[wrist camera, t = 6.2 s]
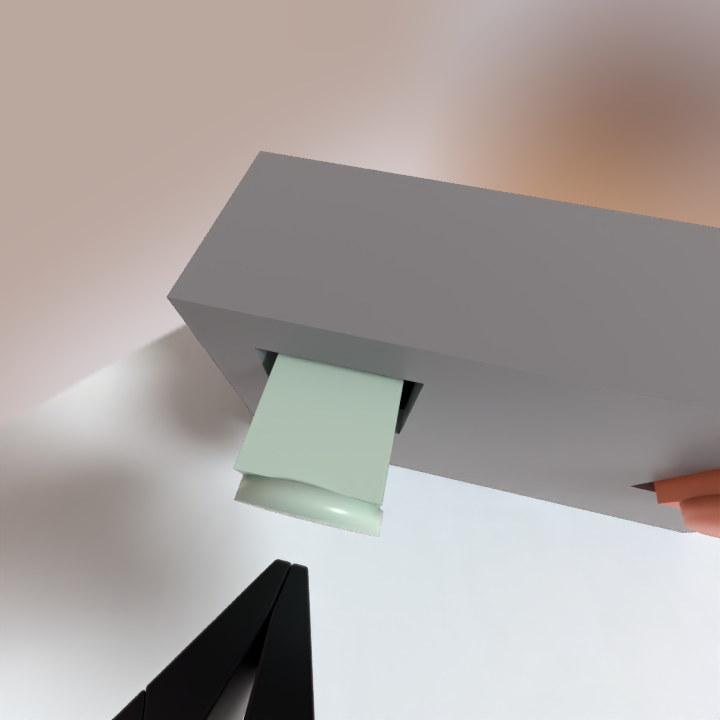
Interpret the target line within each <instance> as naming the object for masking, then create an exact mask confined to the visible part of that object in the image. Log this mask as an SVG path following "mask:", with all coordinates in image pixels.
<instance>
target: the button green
mask: <svg viewBox="0 0 720 720" xmlns="http://www.w3.org/2000/svg"><path fill="white" fill-rule="evenodd" d="M403 382H404V379H399V378H394V377H390V376H385V375H380V374H376V373H371V372H366V371H362V370H357V369H352V368H348V367H343V366H338V365H333V364H329V363H324V362H319V361H315V360H310V359H305V358H301V357H296V356H291V355H287V354H282V353H278V356H277V358H276V361H275V364H274V366H273V369H272V371H271V374H270V376H269V379H268V381H267V384H266V386H265V389H264V392H263V394H262V397H261V399H260V402H259V404H258V407H257V409H256V412H255V415H254V417H253V420H252V422H251V425H250V427H249V430H248V432H247V435H246V437H245V440H244V443H243V445H242V448H241V450H240V453H239V455H238V458H237V460H236V463H235V465H234V469H235V470H237V471H238V472H240V473H241V474H243V477H242V480H241V483H240V485H239V488H238V491H237V493H236V496H235V499H234V500H236V501H239V502H241V503H245V504H248V505H251V506H254V507H258V508H261V509H265V510H269V511H272V512H276V513H280V514H283V515H287V516H291V517H295V518H299V519H302V520H306V521H310V522H314V523H318V524H322V525H326V526H331V527H335V528H339V529H343V530H348V531H352V532H356V533H361V534H366V535H371V536H378V537H379V534H380V529H381V523H382V517H383V510H381V509H379V507H380V506H381V505H382V502H383V496H384V490H385V485H386V479H387V473H388V467H389V462H390V456H391V450H392V445H393V439H394V433H395V427H396V422H397V416H398V410H399V405H400V399H401V393H402V387H403Z"/></svg>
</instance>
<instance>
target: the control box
mask: <svg viewBox="0 0 720 720" xmlns="http://www.w3.org/2000/svg"><path fill="white" fill-rule="evenodd" d="M167 298H168V299H169V301H170V302H171V303H172V305H173V306H174V307H175V309H176V310H177V312H178V313H179V314H180V315H181V317H182V318H183V319H184V321H185V322H186V324H187V325H188V326H189V328H190V329H191V331H192V332H193V333H194V335H195V336H196V337H197V339H198V340H199V341H200V343H201V344H202V346H203V347H204V348H205V350H206V351H207V352H208V354H209V355H210V356H211V358H212V359H213V360H214V362H215V363H216V365H217V366H218V367H219V369H220V370H221V371H222V373H223V374H224V375H225V377H226V378H227V380H228V381H229V382H230V384H231V385H232V386H233V388H234V389H235V390H236V392H237V393H238V395H239V396H240V397H241V399H242V400H243V401H244V403H245V404H246V405H247V407H248V408H249V409H250V411H251V412H252V414H253V415H255V412H256V409H257V407H258V404H259V402H260V399H261V397H262V394H263V392H264V389H265V386H266V384H267V381H268V379H269V376H270V374H271V371H272V369H273V366H274V364H275V361H276V358H277V356H278V353H282V354H287V355H291V356H296V357H301V358H305V359H310V360H315V361H319V362H324V363H329V364H333V365H338V366H343V367H348V368H352V369H357V370H362V371H366V372H371V373H376V374H380V375H385V376H390V377H394V378H399V379H404V380H408V381H413V382H415V385H414V387H413V389H412V392H411V394H410V396H409V399H408V401H407V403H406V405H405V408H404V410H402V409H399V410H398V416H397V422H396V427H395V433H394V439H393V445H392V450H391V456H390V462H389V464H391V465H395V466H399V467H404V468H408V469H412V470H417V471H421V472H425V473H429V474H434V475H438V476H442V477H447V478H451V479H455V480H459V481H464V482H468V483H472V484H477V485H481V486H485V487H489V488H494V489H498V490H502V491H506V492H511V493H515V494H519V495H524V496H528V497H532V498H536V499H541V500H545V501H549V502H554V503H558V504H562V505H566V506H571V507H575V508H579V509H584V510H588V511H592V512H596V513H601V514H605V515H609V516H614V517H618V518H622V519H626V520H631V521H635V522H639V523H644V524H648V525H652V526H656V527H661V528H665V529H669V530H674V531H678V532H682V533H687V532H695V531H693V530H690V529H688V528H686V527H685V526H684V522H683V517H682V513H681V509H678V508H674V507H669V506H665V505H661V504H658V501H657V496H656V491H655V486H654V481H659V480H664V479H669V478H674V477H679V476H684V475H689V474H694V473H699V472H704V471H709V470H714V469H719V468H720V228H715V227H710V226H703V225H698V224H692V223H685V222H679V221H674V220H668V219H662V218H656V217H650V216H644V215H638V214H632V213H626V212H620V211H614V210H608V209H602V208H597V207H590V206H584V205H579V204H572V203H567V202H561V201H554V200H549V199H543V198H537V197H531V196H525V195H519V194H513V193H507V192H501V191H495V190H489V189H483V188H477V187H471V186H466V185H460V184H454V183H448V182H442V181H436V180H430V179H424V178H418V177H412V176H406V175H400V174H394V173H388V172H382V171H376V170H370V169H364V168H358V167H352V166H346V165H341V164H334V163H329V162H323V161H316V160H311V159H304V158H299V157H293V156H287V155H281V154H275V153H269V152H263V151H260V152H259V154H258V155H257V157H256V159H255V160H254V161H253V163H252V165H251V166H250V168H249V169H248V171H247V172H246V174H245V176H244V177H243V179H242V180H241V182H240V183H239V185H238V186H237V188H236V190H235V191H234V193H233V194H232V196H231V197H230V199H229V201H228V202H227V204H226V205H225V207H224V209H223V210H222V211H221V213H220V215H219V216H218V218H217V219H216V221H215V222H214V224H213V226H212V227H211V229H210V230H209V232H208V233H207V235H206V237H205V238H204V240H203V242H202V243H201V245H200V246H199V247H198V249H197V251H196V252H195V254H194V255H193V257H192V258H191V260H190V262H189V263H188V265H187V266H186V268H185V269H184V271H183V272H182V274H181V276H180V277H179V279H178V280H177V282H176V283H175V285H174V286H173V288H172V290H171V291H170V293H169V294H168V296H167Z"/></svg>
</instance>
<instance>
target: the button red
mask: <svg viewBox="0 0 720 720" xmlns="http://www.w3.org/2000/svg"><path fill="white" fill-rule="evenodd" d="M654 486H655V491H656V496H657V501H658V504H661V505H665V506H669V507H674V508H678V509H681V513H682V517H683V522H684V526H685V527H686V528H688V529H690V530H693V531H695V532H698V533H701V534H705V535H709V536H713V537H717V538H720V468H719V469H714V470H709V471H704V472H699V473H694V474H689V475H684V476H679V477H674V478H669V479H664V480H659V481H654Z"/></svg>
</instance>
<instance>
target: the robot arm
mask: <svg viewBox="0 0 720 720" xmlns="http://www.w3.org/2000/svg"><path fill="white" fill-rule="evenodd" d="M245 712H246V713H245ZM244 714H245V716H244ZM243 717H244V720H315V716H314V693H313V669H312V646H311V623H310V599H309V576H308V568H307V567H306V566H303V565H299V564H293V565H291V563H290V562H288V561H284V560H280V559H277V560H275V561H274V562H273V563H272V564H271V565H269V566H268V567H267V568H266V569H265V570H264V571H263V572H262V573H261V574H260V575H259V576H258V577H257V578H256V579H255V580H254V581H253V582H252V583H251V584H250V585H249V586H248V587H247V588H246V589H245V590H244V591H243V592H242V593H241V594H240V595H239V596H238V597H237V598H236V599H235V600H234V601H233V602H232V603H231V604H230V605H229V606H228V607H227V608H226V609H225V610H224V611H223V612H222V613H221V614H220V615H219V616H218V617H217V618H216V619H215V620H213V621H212V622H211V623H210V624H209V625H208V626H207V627H206V628H205V629H204V630H203V631H202V632H201V633H200V634H199V635H198V636H197V637H196V638H195V639H194V640H193V641H192V642H191V643H190V644H189V645H188V646H187V647H186V648H185V649H184V650H183V651H182V652H181V653H180V654H179V655H178V656H177V657H176V658H175V659H174V660H173V661H172V662H171V663H170V664H169V665H168V666H167V667H166V668H165V669H164V670H163V671H162V672H161V673H160V674H159V675H157V676H156V677H155V678H154V679H153V680H152V681H151V682H150V683H149V684H148V685H147V687H146V692H145V690H142V691H141V692H140V693H139V694H138V695H137V696H136V697H135V698H134V699H133V700H132V701H131V702H130V703H129V704H128V705H127V706H126V707H125V708H124V709H123V710H122V711H121V712H120V713H118V714H117V715H116V716H115V717H114V718H113V719H112V720H242V719H243Z"/></svg>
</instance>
